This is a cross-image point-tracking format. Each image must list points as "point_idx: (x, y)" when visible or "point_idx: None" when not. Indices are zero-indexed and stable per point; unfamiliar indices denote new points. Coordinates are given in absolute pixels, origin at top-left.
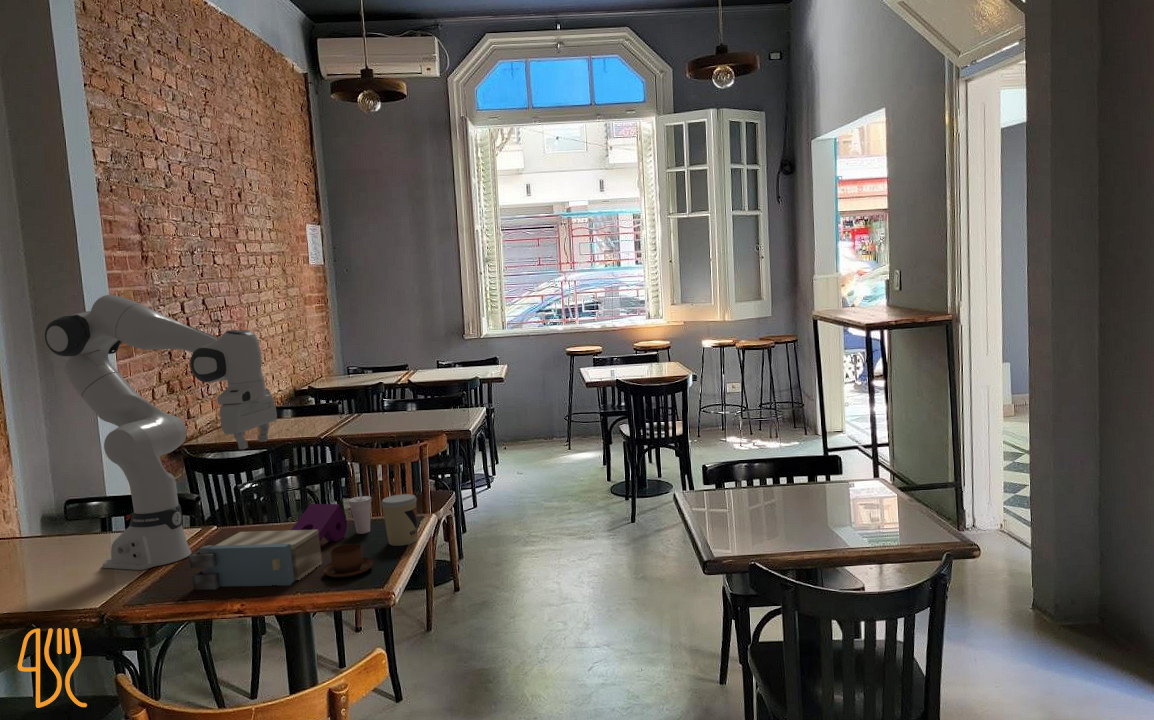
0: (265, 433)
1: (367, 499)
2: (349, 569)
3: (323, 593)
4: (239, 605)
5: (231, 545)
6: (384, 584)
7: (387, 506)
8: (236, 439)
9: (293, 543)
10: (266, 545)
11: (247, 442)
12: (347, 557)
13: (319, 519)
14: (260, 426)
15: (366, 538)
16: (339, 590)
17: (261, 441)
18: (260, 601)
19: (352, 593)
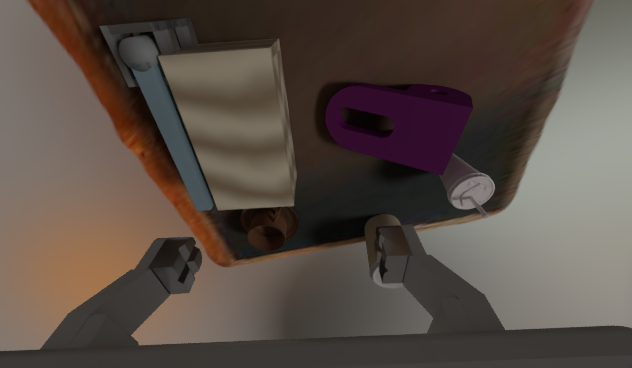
0: (407, 286)
1: (460, 208)
2: (256, 230)
3: (206, 221)
4: (137, 153)
5: (169, 112)
6: (244, 258)
7: (371, 266)
8: (103, 294)
9: (222, 206)
10: (192, 179)
11: (191, 285)
12: (253, 241)
13: (403, 145)
14: (441, 319)
15: (406, 179)
16: (218, 231)
17: (377, 234)
18: (159, 171)
19: (215, 244)
